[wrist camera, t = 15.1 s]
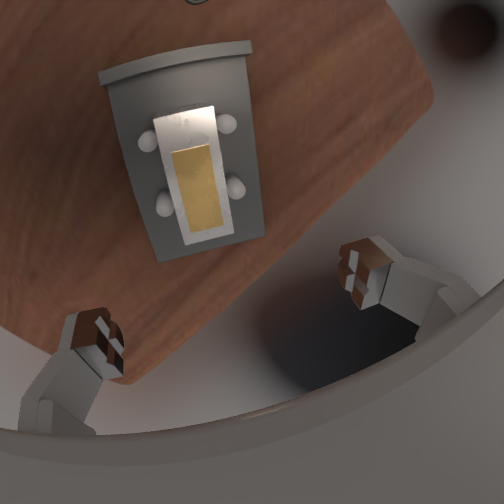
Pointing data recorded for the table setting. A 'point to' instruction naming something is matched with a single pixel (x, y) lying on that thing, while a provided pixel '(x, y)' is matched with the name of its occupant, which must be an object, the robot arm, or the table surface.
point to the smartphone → (196, 1)
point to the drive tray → (228, 127)
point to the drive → (194, 171)
